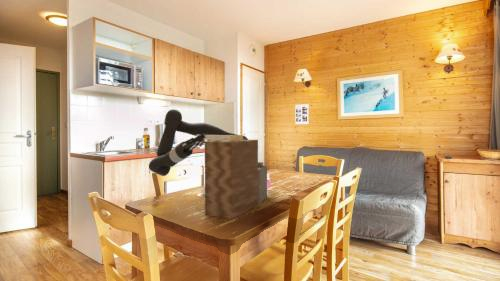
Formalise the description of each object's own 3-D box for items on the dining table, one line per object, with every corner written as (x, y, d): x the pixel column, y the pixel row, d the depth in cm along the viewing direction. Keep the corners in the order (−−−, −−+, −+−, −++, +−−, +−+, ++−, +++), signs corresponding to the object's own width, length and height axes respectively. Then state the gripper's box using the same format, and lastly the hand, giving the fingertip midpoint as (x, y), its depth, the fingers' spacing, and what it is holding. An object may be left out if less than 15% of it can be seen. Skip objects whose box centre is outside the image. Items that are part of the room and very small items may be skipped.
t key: (192, 139, 122) (192, 135, 122) (202, 138, 129) (202, 134, 129) (233, 140, 112) (233, 135, 112) (242, 139, 119) (242, 135, 119)
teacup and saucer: (206, 192, 158) (206, 185, 158) (215, 194, 153) (215, 187, 153) (194, 195, 151) (194, 188, 151) (203, 198, 146) (203, 190, 146)
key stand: (205, 214, 118) (204, 138, 116) (233, 200, 139) (233, 136, 137) (232, 219, 111) (232, 139, 110) (257, 204, 133) (257, 137, 131)
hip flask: (259, 204, 133) (260, 164, 132) (252, 203, 134) (252, 164, 133) (267, 196, 148) (267, 160, 147) (260, 196, 149) (260, 160, 148)
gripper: (167, 146, 126) (192, 128, 118) (187, 144, 138) (211, 128, 131) (173, 160, 124) (199, 143, 117) (193, 157, 136) (217, 141, 129)
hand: (205, 135), depth 124 cm, fingers closed on t key, 2 cm apart
